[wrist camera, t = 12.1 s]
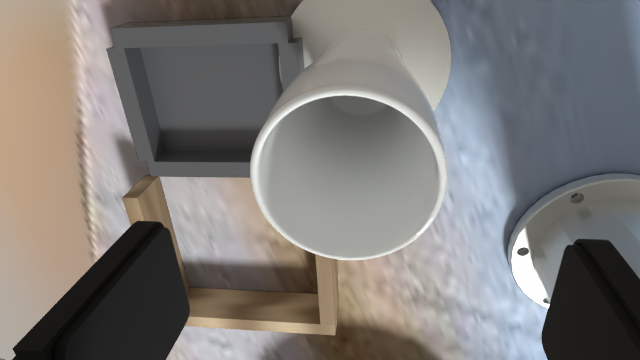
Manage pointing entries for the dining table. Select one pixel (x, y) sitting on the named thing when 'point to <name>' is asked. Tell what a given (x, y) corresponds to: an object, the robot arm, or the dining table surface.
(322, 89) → the drinking glass
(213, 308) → the oak corral
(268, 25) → the tray
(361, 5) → the coaster
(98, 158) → the dining table surface
